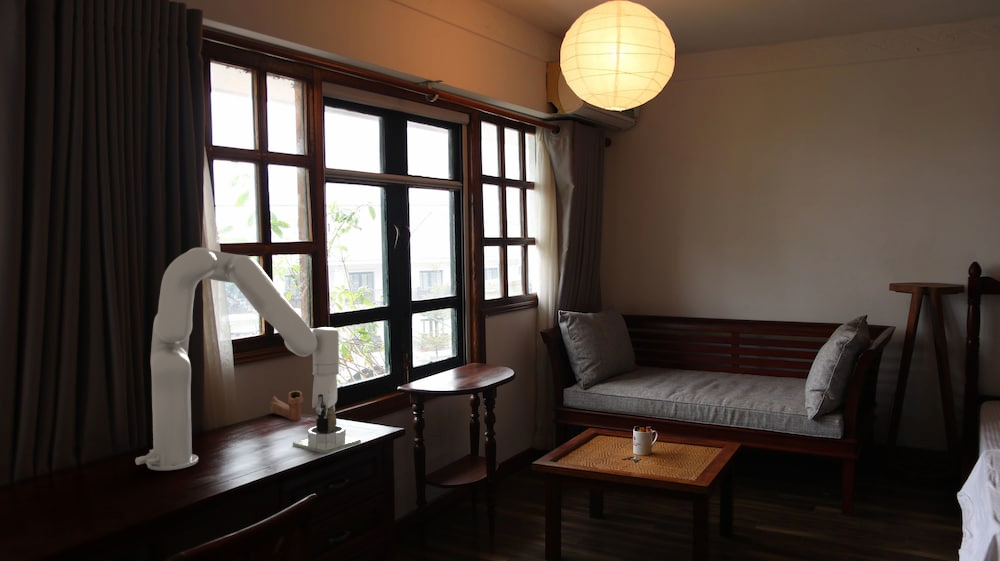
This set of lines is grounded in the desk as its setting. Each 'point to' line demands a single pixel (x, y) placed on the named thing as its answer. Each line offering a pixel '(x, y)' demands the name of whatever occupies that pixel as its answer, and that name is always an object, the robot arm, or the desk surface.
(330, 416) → the decorative egg
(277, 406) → the pipe
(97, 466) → the desk surface
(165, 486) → the desk surface
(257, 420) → the desk surface
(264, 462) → the desk surface
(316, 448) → the duct collar
